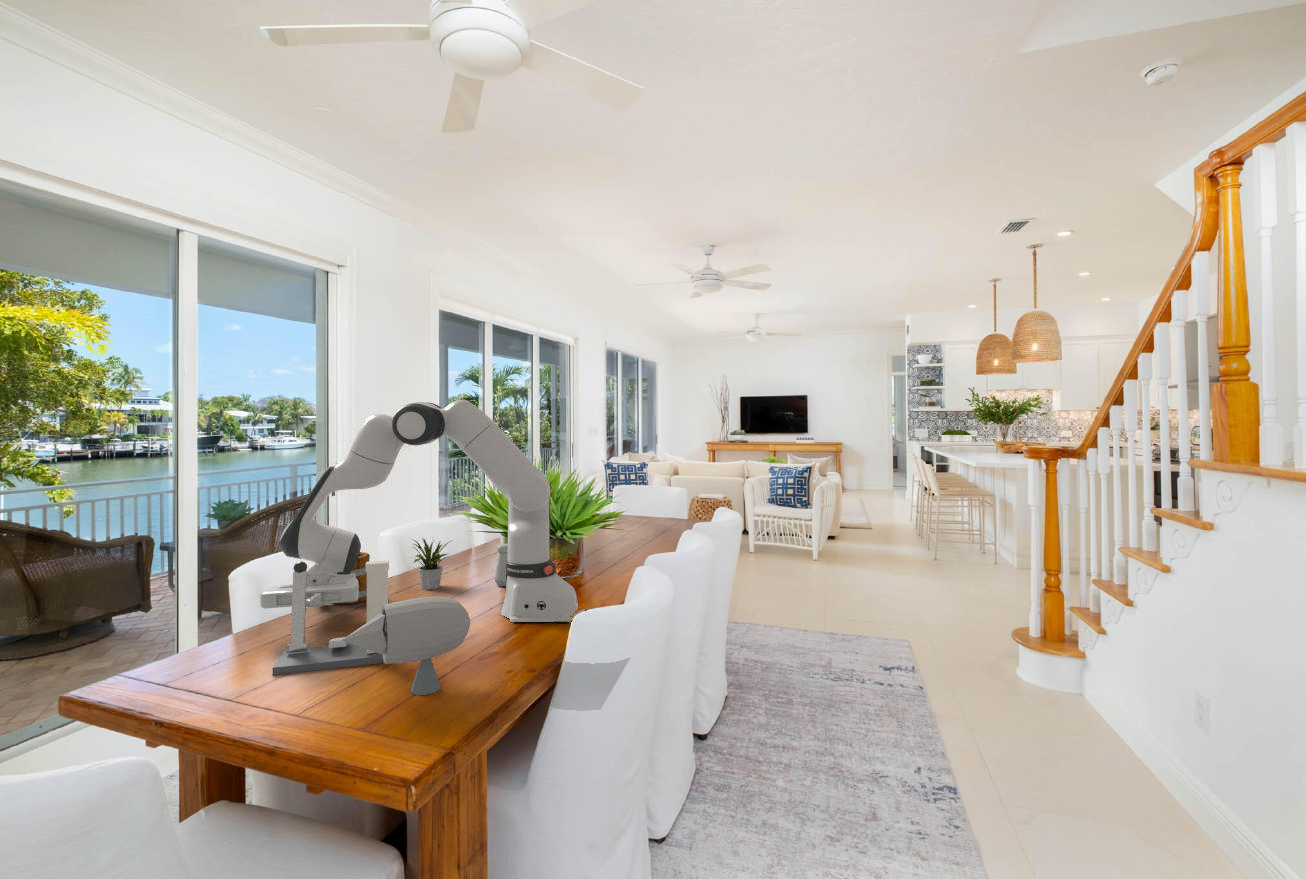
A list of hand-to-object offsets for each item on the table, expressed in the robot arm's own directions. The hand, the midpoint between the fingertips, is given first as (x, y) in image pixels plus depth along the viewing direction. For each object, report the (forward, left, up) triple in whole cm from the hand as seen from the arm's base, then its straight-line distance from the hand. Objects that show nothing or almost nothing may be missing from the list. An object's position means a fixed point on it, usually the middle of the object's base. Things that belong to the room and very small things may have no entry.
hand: (305, 603), depth 135 cm
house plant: (+1, -51, -10) cm, 52 cm away
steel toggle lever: (-4, +7, -7) cm, 11 cm away
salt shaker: (-21, -59, -10) cm, 64 cm away
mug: (+16, -33, -10) cm, 38 cm away
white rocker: (-11, +3, -7) cm, 13 cm away
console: (-12, +5, -10) cm, 16 cm away
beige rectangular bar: (-20, +3, -8) cm, 22 cm away
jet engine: (-36, +15, -10) cm, 40 cm away
